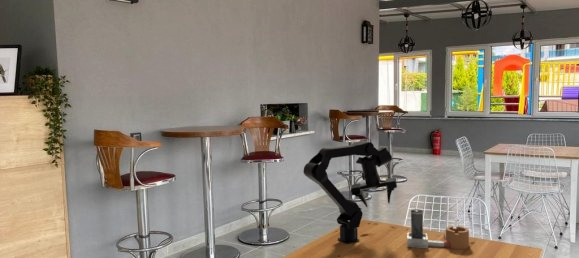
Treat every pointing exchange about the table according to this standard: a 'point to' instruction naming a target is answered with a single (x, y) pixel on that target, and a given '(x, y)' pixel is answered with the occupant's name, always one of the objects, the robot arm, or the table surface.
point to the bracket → (457, 237)
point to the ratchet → (425, 242)
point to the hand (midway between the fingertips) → (378, 205)
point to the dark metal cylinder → (417, 224)
